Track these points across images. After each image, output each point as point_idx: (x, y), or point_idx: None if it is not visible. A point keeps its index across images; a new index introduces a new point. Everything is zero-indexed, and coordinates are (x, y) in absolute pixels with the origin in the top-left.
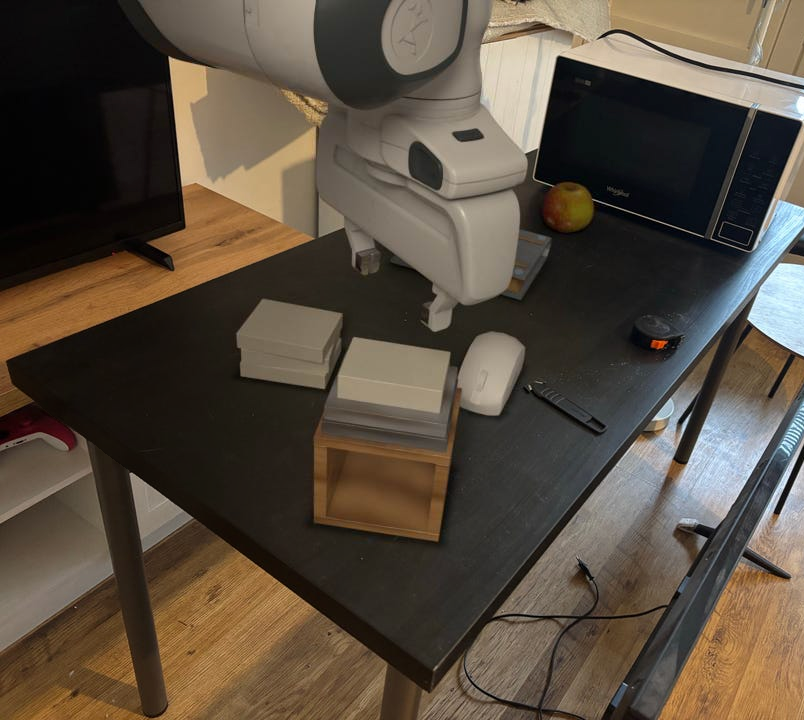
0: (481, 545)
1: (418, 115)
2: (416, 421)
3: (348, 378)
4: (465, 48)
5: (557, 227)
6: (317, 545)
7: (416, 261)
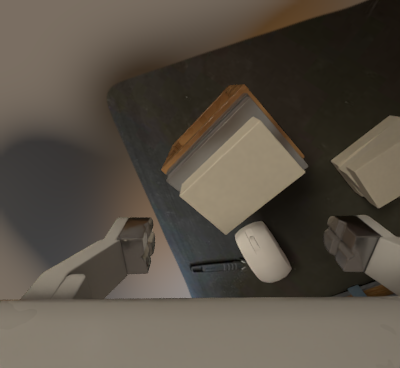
0: (157, 164)
1: None
2: (184, 162)
3: (250, 128)
4: None
5: None
6: (211, 76)
7: (79, 331)
